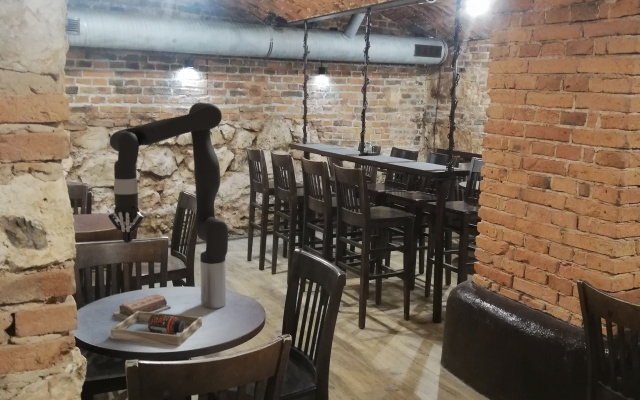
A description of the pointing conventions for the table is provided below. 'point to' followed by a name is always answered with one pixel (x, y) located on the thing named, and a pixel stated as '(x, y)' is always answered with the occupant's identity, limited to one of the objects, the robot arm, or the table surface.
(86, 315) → the table surface
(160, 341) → the wooden frame
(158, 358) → the table surface
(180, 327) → the supplement bottle
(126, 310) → the packaged product
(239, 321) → the table surface
